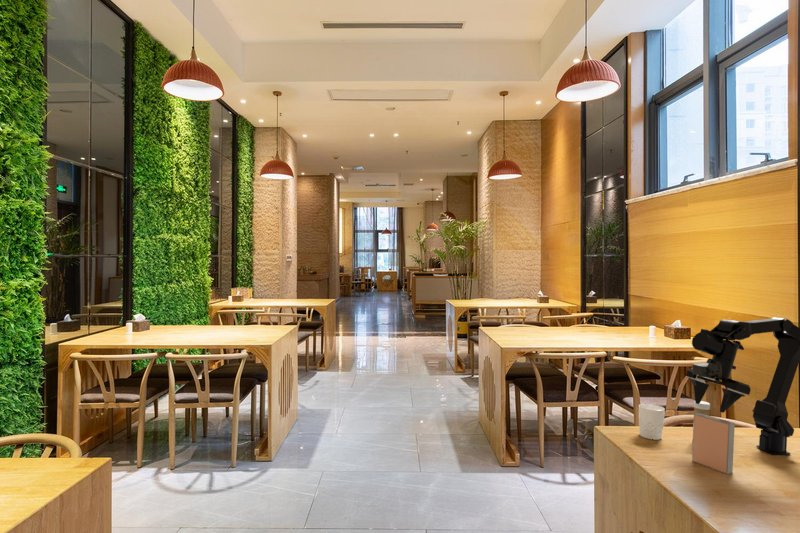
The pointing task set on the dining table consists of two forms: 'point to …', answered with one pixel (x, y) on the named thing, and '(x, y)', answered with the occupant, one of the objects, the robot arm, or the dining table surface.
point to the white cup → (651, 421)
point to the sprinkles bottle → (701, 409)
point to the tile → (713, 442)
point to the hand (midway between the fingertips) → (709, 407)
